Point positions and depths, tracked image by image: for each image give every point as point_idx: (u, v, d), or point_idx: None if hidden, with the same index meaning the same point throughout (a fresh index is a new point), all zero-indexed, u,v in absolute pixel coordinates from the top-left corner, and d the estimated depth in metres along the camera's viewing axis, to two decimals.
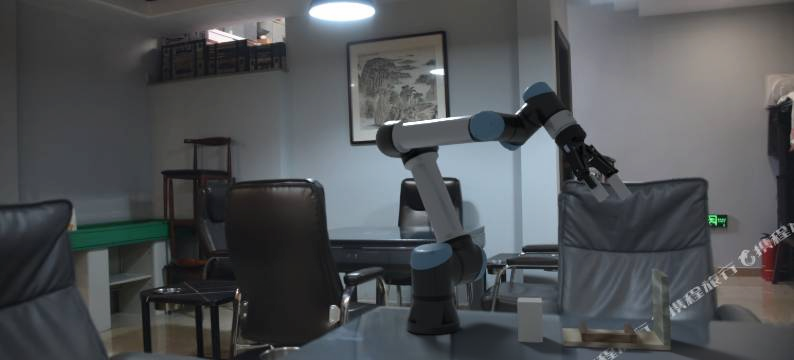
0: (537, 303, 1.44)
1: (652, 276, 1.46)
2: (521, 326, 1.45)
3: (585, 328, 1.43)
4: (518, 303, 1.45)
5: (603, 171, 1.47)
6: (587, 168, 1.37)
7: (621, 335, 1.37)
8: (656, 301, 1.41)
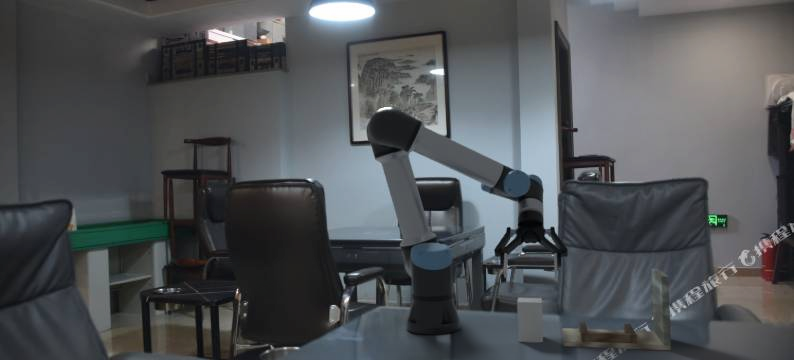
0: (537, 303, 1.44)
1: (652, 276, 1.46)
2: (521, 326, 1.45)
3: (585, 328, 1.43)
4: (518, 303, 1.45)
5: (509, 249, 1.64)
6: None
7: (621, 335, 1.37)
8: (656, 301, 1.41)
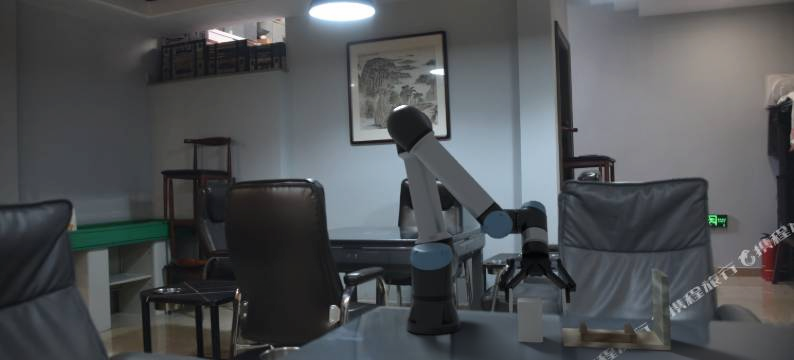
0: (537, 303, 1.44)
1: (652, 276, 1.46)
2: (521, 326, 1.45)
3: (585, 328, 1.43)
4: (518, 303, 1.45)
5: (514, 284, 1.55)
6: None
7: (621, 335, 1.37)
8: (656, 301, 1.41)
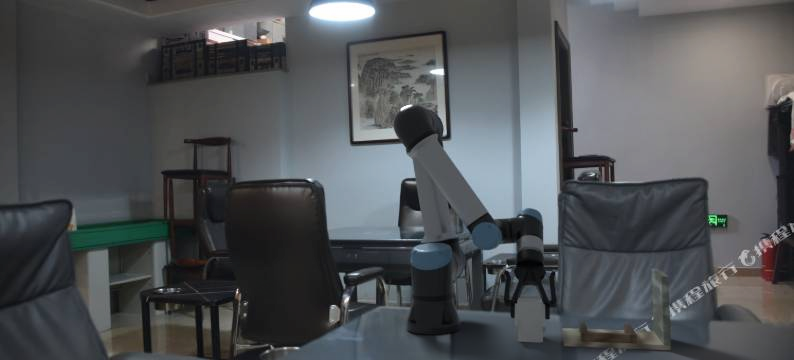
0: (537, 303, 1.44)
1: (652, 276, 1.46)
2: (521, 326, 1.45)
3: (585, 328, 1.43)
4: (518, 303, 1.45)
5: (518, 296, 1.50)
6: None
7: (621, 335, 1.37)
8: (656, 301, 1.41)
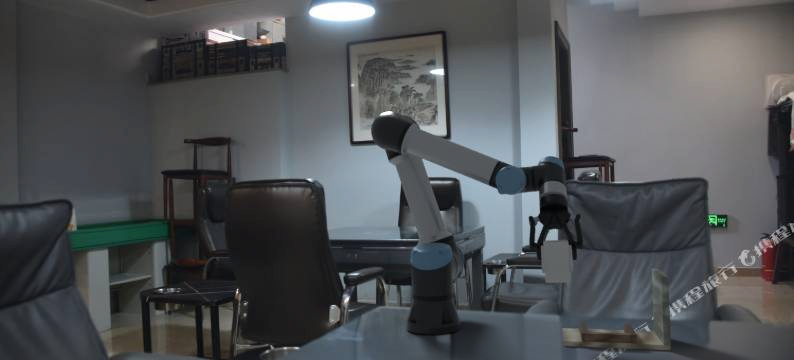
0: (564, 243, 1.42)
1: (652, 276, 1.46)
2: (548, 267, 1.43)
3: (585, 328, 1.43)
4: (544, 244, 1.43)
5: (543, 239, 1.49)
6: None
7: (621, 335, 1.37)
8: (656, 301, 1.41)
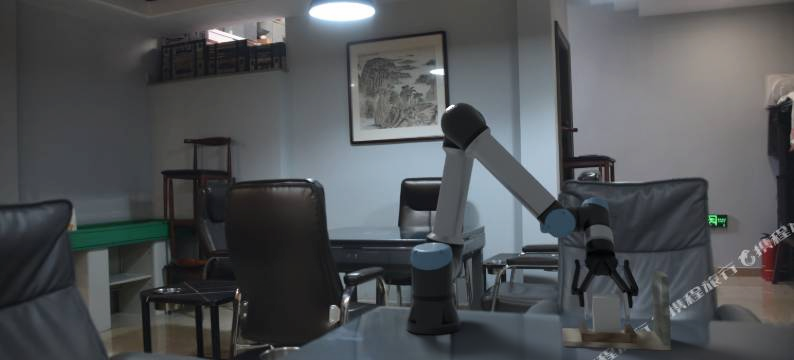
0: (615, 299, 1.40)
1: (652, 276, 1.46)
2: (598, 323, 1.41)
3: (585, 328, 1.43)
4: (595, 299, 1.41)
5: (587, 285, 1.47)
6: None
7: (621, 335, 1.37)
8: (656, 301, 1.41)
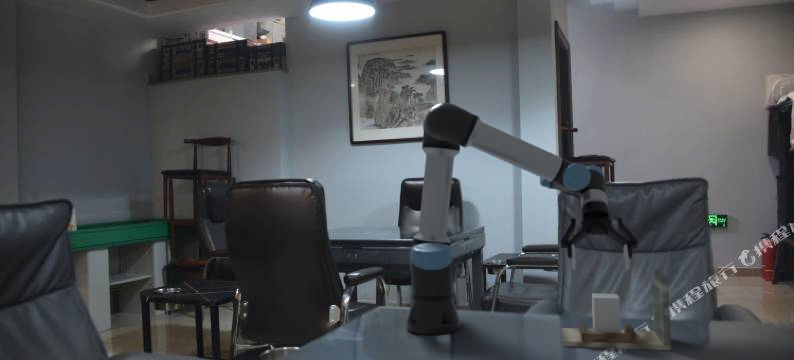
0: (615, 299, 1.40)
1: (652, 276, 1.46)
2: (598, 323, 1.41)
3: (585, 328, 1.43)
4: (595, 299, 1.41)
5: (576, 240, 1.61)
6: None
7: (621, 335, 1.37)
8: (656, 301, 1.41)
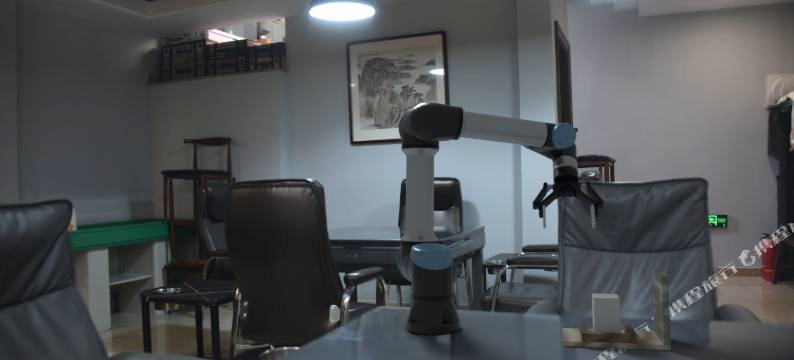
0: (615, 299, 1.40)
1: (652, 276, 1.46)
2: (598, 323, 1.41)
3: (585, 328, 1.43)
4: (595, 299, 1.41)
5: (547, 202, 1.72)
6: None
7: (621, 335, 1.37)
8: (656, 301, 1.41)
